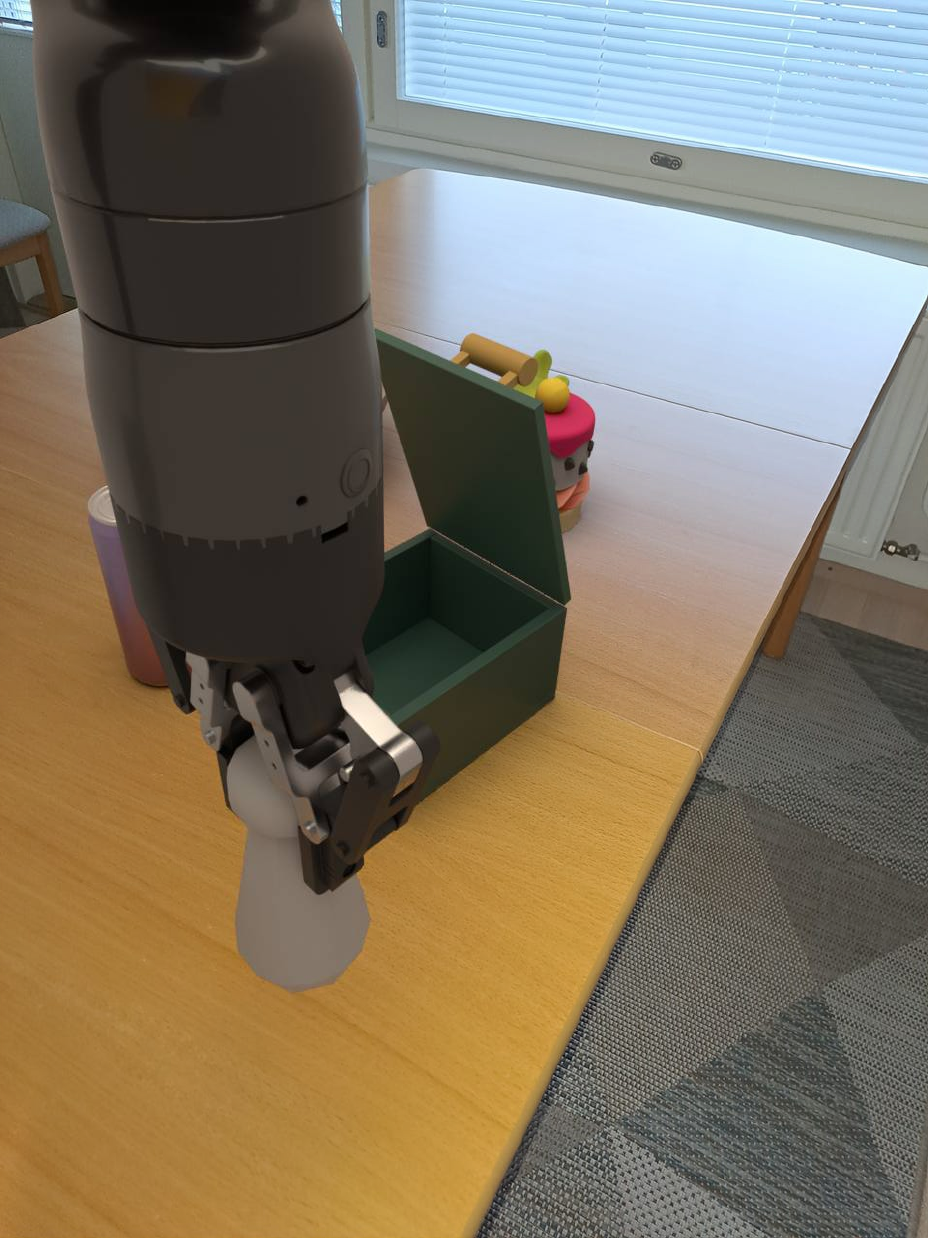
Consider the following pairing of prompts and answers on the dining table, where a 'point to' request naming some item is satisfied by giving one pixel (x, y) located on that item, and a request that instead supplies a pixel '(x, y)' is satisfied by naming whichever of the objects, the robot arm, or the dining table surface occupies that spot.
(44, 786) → the dining table surface
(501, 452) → the lid
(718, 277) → the dining table surface
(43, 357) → the dining table surface
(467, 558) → the chest
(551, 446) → the cake
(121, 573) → the beverage can
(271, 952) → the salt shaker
